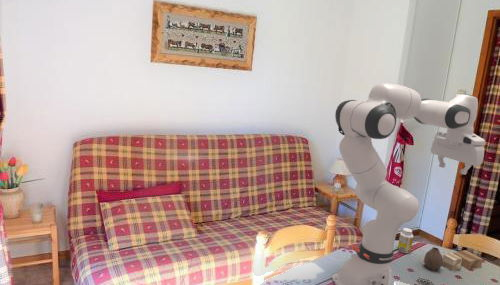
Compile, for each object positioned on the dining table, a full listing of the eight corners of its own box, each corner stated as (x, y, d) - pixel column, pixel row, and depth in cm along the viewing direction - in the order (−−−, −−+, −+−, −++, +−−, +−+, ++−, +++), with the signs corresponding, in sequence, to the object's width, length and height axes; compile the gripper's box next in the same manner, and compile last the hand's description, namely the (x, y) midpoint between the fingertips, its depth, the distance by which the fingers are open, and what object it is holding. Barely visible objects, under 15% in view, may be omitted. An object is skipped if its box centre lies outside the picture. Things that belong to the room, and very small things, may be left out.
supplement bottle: (408, 248, 172) (412, 227, 170) (412, 254, 167) (416, 233, 165) (395, 247, 173) (399, 226, 170) (399, 252, 167) (403, 231, 165)
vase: (443, 273, 152) (447, 254, 151) (425, 270, 154) (429, 250, 152) (438, 265, 159) (442, 246, 157) (421, 262, 160) (424, 243, 159)
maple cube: (451, 271, 155) (454, 260, 154) (441, 265, 160) (443, 254, 159) (459, 269, 157) (462, 258, 156) (449, 263, 162) (451, 252, 161)
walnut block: (468, 270, 158) (470, 261, 157) (451, 260, 165) (453, 252, 164) (480, 267, 161) (482, 259, 160) (463, 258, 168) (465, 250, 167)
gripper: (430, 130, 152) (424, 163, 155) (478, 142, 134) (470, 178, 137) (441, 130, 155) (435, 162, 158) (489, 141, 137) (481, 177, 140)
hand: (452, 170), depth 147 cm, fingers open, 8 cm apart
